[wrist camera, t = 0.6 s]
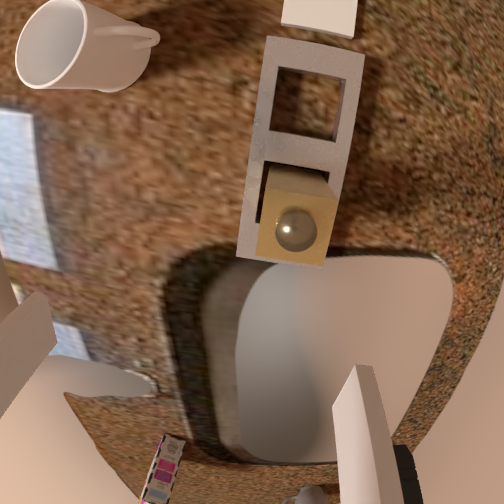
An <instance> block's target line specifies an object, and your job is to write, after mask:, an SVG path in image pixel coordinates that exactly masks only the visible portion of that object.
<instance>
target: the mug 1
mask: <svg viewBox="0 0 504 504" xmlns="http://www.w3.org/2000/svg"><path fill="white" fill-rule="evenodd" d="M149 38H152V39H149ZM159 41H160V34H159V33H158V32H157V31H155V30H153V29H150V28H146V27H141V26H140V25H139V24H137V23H135V22H131V21H126V20H124V19H122V18H120V17H118V16H116V15H114V14H111V13H109V12H107V11H105V10H103V9H101V8H98V7H96V6H94V5H92V4H89V3H87V2H85V1H82V0H50V1H48V2H47V3H45V4H44V5H42V6H41V7H40V8H39V9H38V10H37V11H36V12H35V13H34V14H33V15H32V16H31V18H30V19H29V20H28V22H27V23H26V25H25V27H24V28H23V30H22V32H21V35H20V37H19V40H18V44H17V48H16V55H15V63H16V69H17V73H18V75H19V77H20V79H21V80H22V82H23V83H24V84H26V85H27V86H29V87H31V88H36V89H54V88H63V89H97V90H100V91H103V92H116V91H120V90H122V89H125V88H127V87H128V86H130V85H131V84H133V83H134V82H135V81H136V80H137V79H138V78H139V77H140V76H141V74H142V73H143V71H144V70H145V68H146V66H147V64H148V61H149V58H150V53H151V47H153V46H155V45H157V44H158V43H159Z"/></svg>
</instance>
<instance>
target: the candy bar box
mask: <svg viewBox="0 0 504 504" xmlns="http://www.w3.org/2000/svg"><path fill="white" fill-rule="evenodd" d="M185 443H186V441H185V440H182V439H180V438H177V437H174V436H172V435H169V434H166V433H164V435H163V437H162V439H161V442H160V444H159V446H158V448H157V451H156V453H155V456H154V459H153V462H152V464H151V467H150V470H149V473H148V476H147V479H146V482H145V485H144V488H143V491H142V494H141V497H140V500H139V504H168V503H169V499H170V496H171V492H172V489H173V485H174V482H175V478H176V474H177V471H178V468H179V464H180V461H181V457H182V454H183V450H184V447H185Z"/></svg>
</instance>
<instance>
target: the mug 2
mask: <svg viewBox="0 0 504 504" xmlns="http://www.w3.org/2000/svg"><path fill="white" fill-rule="evenodd" d="M292 499H296V501H295V504H328V501H327V498H326V496H325V494H324V492H323V490H322V488H321V487H320V486H316V485H311V486H305V487H302V488H301V490H300V492H299V494H298V495H294V496H290V497H287V498H286V499H285V500H284V501H283V502H282V504H287V503H288V502H289V501H290V500H292Z"/></svg>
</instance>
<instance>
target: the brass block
mask: <svg viewBox="0 0 504 504" xmlns="http://www.w3.org/2000/svg"><path fill="white" fill-rule="evenodd" d="M337 206H338V199H337V198H336V196H335V194H334V193H333V191H332V190H331V188H330V187H329V185H328V184H327V182H326V181H325V179H324V178H323V176H322V175H321V173H320V172H317V171H311V170H306V169H300V168H295V167H289V166H283V165H277V164H271V163H270V168H269V173H268V178H267V183H266V188H265V194H264V200H263V207H262V213H261V220H260V226H259V233H258V239H257V245H256V252H255V256H262V257H268V258H274V259H280V260H286V261H293V262H299V263H305V264H311V265H318V266H323V263H324V260H325V256H326V252H327V248H328V244H329V240H330V236H331V232H332V227H333V223H334V219H335V215H336V210H337Z"/></svg>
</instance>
